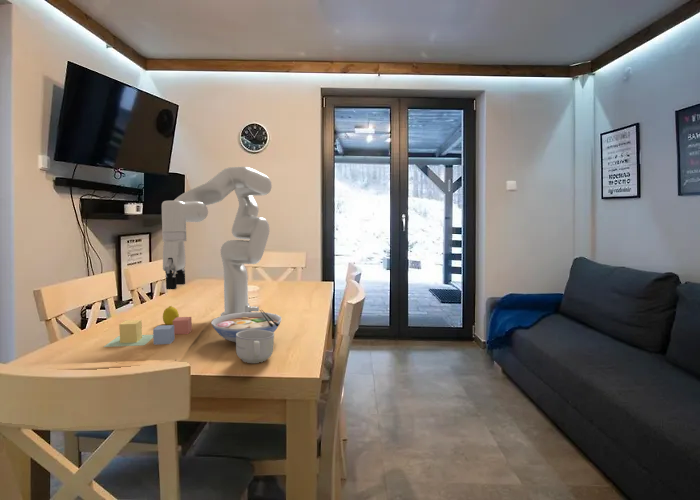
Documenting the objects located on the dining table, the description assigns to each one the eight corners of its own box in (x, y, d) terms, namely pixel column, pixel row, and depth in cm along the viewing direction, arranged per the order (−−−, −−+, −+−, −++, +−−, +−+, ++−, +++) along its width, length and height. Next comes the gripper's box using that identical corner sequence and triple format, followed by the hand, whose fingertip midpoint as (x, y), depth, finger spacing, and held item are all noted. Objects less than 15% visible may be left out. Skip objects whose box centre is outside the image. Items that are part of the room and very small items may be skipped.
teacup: (239, 354, 126) (239, 328, 126) (276, 353, 127) (275, 327, 127) (230, 371, 112) (230, 342, 112) (271, 370, 113) (271, 341, 113)
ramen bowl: (209, 334, 147) (209, 311, 146) (274, 328, 155) (274, 307, 154) (213, 357, 124) (212, 329, 123) (289, 348, 132) (289, 323, 131)
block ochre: (142, 337, 139) (141, 320, 138) (136, 342, 134) (136, 323, 133) (126, 338, 138) (125, 320, 138) (120, 342, 133) (119, 324, 133)
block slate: (174, 343, 138) (174, 325, 137) (170, 347, 133) (169, 329, 132) (158, 343, 137) (158, 325, 136) (153, 348, 132) (153, 329, 131)
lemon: (173, 329, 154) (172, 308, 153) (159, 328, 155) (159, 307, 154) (182, 325, 159) (181, 304, 158) (169, 324, 160) (168, 304, 159)
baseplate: (156, 337, 143) (156, 334, 143) (144, 348, 131) (144, 345, 131) (119, 339, 141) (118, 335, 141) (103, 350, 129) (103, 346, 129)
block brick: (191, 333, 149) (191, 316, 148) (188, 337, 144) (188, 320, 143) (177, 333, 148) (176, 317, 148) (173, 338, 143) (172, 320, 143)
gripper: (171, 235, 151) (172, 282, 152) (153, 238, 134) (155, 291, 135) (193, 235, 152) (194, 282, 153) (178, 238, 135) (179, 291, 136)
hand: (176, 286), depth 144 cm, fingers open, 9 cm apart
